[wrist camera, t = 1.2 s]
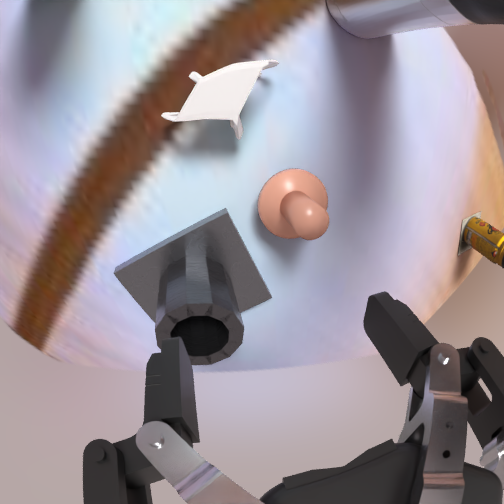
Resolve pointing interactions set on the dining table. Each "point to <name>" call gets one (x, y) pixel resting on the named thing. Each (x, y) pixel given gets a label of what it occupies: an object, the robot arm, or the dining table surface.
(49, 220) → the dining table surface
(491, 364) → the robot arm
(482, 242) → the condiment
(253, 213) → the dining table surface
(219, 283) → the flanged pipe socket
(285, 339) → the dining table surface
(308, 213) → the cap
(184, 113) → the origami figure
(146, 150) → the dining table surface
